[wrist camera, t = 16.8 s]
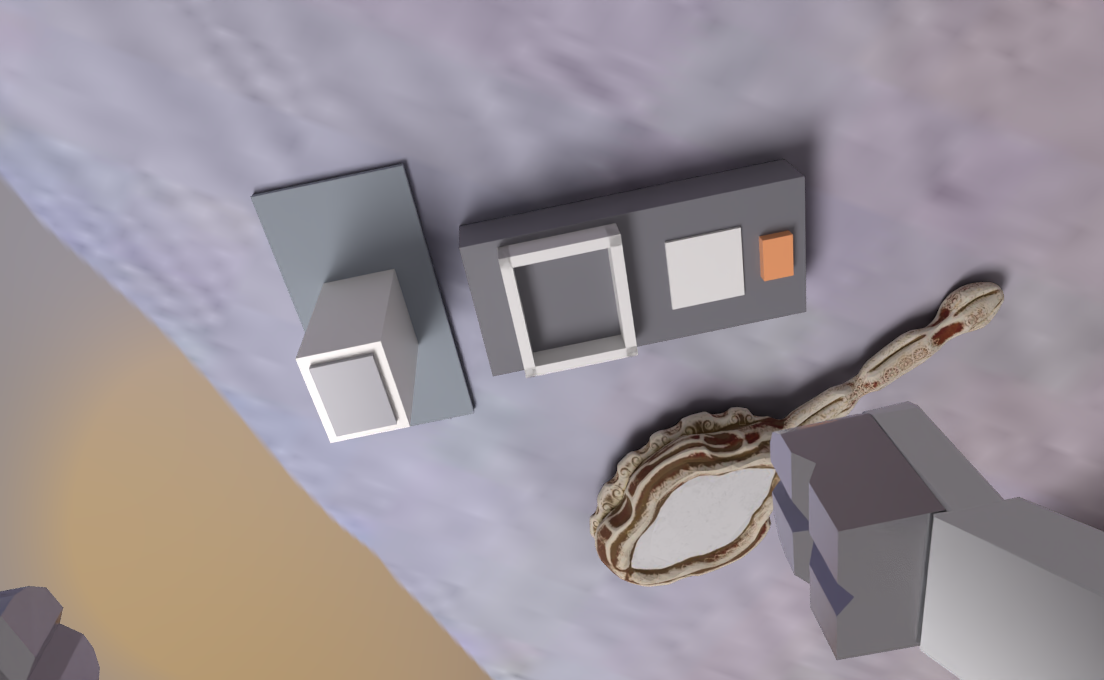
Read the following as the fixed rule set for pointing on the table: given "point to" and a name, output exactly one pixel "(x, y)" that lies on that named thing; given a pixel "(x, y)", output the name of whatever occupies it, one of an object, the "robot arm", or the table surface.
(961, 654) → the robot arm
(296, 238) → the slate mat
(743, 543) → the hand mirror
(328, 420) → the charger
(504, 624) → the table surface
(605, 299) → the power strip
